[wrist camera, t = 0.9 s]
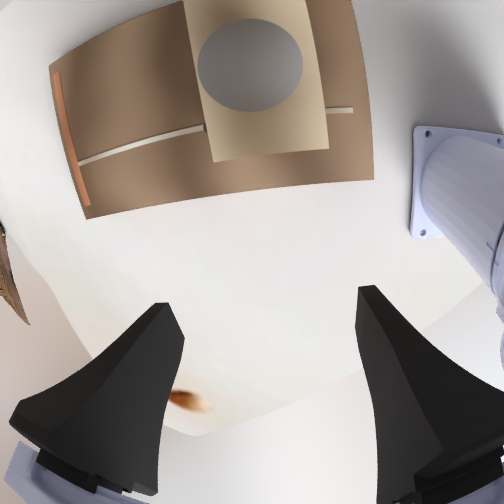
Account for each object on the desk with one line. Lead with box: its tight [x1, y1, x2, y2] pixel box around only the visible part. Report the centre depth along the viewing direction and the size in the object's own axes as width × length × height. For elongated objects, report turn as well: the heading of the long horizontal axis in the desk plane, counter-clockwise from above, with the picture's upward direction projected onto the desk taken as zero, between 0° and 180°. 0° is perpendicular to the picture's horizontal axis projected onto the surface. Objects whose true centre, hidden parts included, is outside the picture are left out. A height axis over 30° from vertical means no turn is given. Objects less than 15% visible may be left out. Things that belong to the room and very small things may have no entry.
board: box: [49, 0, 374, 220], centre depth 14 cm, size 19×12×2 cm, turn 99°
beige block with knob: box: [183, 0, 329, 162], centre depth 9 cm, size 6×12×8 cm, turn 9°
